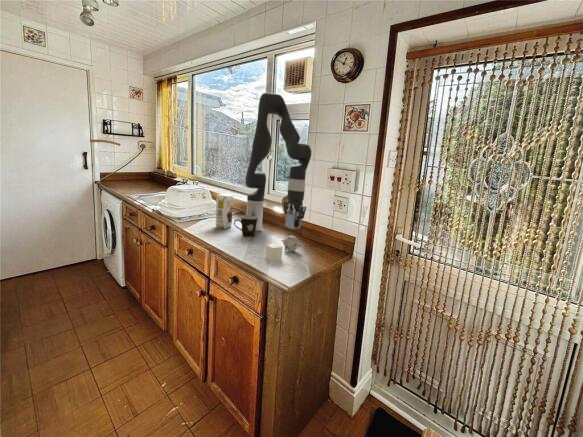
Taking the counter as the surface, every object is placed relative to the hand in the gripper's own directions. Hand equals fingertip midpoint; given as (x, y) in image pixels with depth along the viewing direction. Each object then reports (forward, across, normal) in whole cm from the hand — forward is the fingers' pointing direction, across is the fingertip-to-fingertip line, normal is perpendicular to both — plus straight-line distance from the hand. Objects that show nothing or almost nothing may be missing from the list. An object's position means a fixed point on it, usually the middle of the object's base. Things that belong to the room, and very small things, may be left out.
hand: (292, 225), depth 137 cm
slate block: (+1, 0, 0) cm, 1 cm away
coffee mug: (+13, -31, -7) cm, 34 cm away
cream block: (+13, +5, -13) cm, 19 cm away
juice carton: (+12, -50, -11) cm, 53 cm away
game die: (+13, 0, 0) cm, 13 cm away
